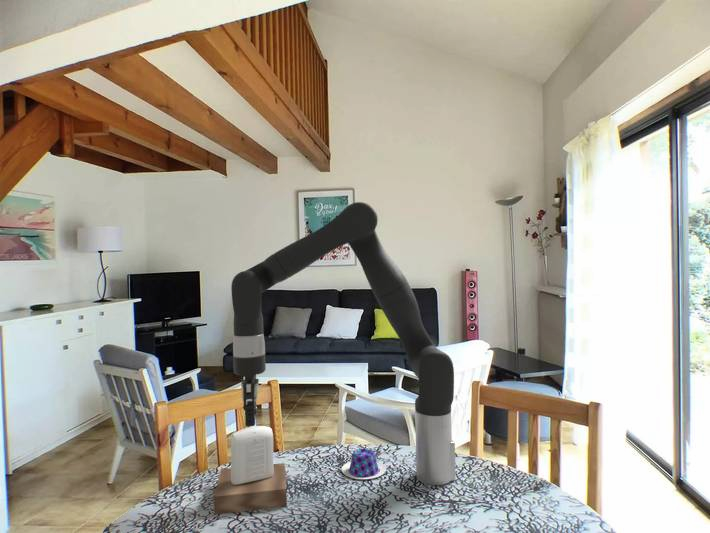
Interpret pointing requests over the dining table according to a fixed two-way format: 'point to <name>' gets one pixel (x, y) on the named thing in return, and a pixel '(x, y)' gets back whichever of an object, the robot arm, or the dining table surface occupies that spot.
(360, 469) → the pudding
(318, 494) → the dining table surface
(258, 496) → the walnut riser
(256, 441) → the photo printer
